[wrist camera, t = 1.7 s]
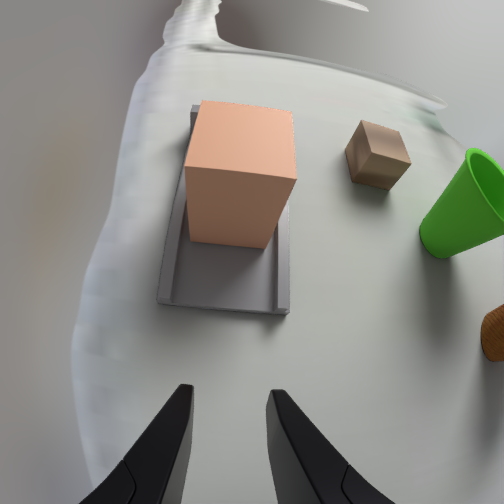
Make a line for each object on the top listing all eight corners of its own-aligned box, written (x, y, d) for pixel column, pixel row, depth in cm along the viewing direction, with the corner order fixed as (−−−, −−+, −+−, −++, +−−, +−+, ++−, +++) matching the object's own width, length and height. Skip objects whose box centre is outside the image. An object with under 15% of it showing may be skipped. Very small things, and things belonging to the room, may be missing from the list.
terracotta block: (265, 248, 23) (296, 179, 15) (190, 241, 22) (184, 166, 14) (267, 188, 26) (291, 111, 18) (200, 181, 25) (201, 100, 17)
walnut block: (389, 190, 30) (411, 163, 25) (351, 182, 29) (371, 152, 25) (380, 158, 32) (398, 131, 27) (344, 149, 31) (361, 119, 27)
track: (286, 314, 22) (301, 302, 19) (158, 303, 21) (148, 289, 18) (283, 134, 31) (291, 108, 27) (194, 123, 29) (195, 97, 26)
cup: (459, 287, 26) (531, 246, 16) (402, 256, 26) (475, 198, 16) (458, 224, 30) (514, 177, 20) (406, 192, 30) (459, 132, 20)
